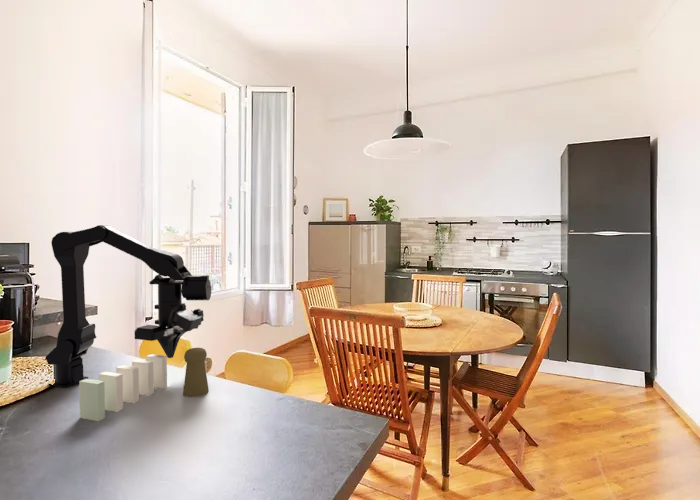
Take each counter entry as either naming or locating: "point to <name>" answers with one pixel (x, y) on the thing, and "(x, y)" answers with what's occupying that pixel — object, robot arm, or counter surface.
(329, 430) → the counter surface
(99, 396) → the sage domino
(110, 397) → the domino
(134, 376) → the domino
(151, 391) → the domino
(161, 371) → the domino
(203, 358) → the cork
